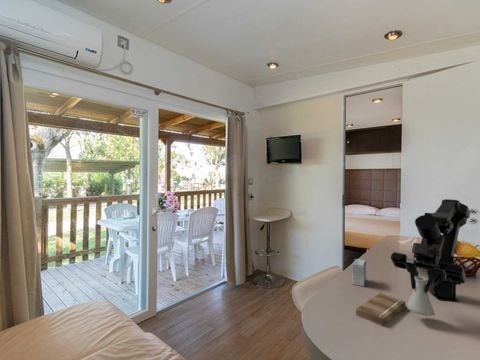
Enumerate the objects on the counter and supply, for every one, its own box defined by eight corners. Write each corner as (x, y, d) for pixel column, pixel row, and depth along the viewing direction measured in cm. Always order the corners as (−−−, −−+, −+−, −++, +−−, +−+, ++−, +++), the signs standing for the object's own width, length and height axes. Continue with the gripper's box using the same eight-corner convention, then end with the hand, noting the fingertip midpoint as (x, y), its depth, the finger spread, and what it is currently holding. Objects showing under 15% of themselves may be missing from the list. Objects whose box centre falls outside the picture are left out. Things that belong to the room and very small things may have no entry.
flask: (440, 318, 74) (440, 284, 74) (412, 315, 76) (412, 282, 76) (427, 305, 81) (428, 274, 81) (402, 303, 83) (402, 273, 83)
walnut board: (380, 298, 93) (380, 292, 93) (405, 306, 87) (405, 300, 87) (356, 314, 82) (356, 308, 82) (382, 326, 76) (382, 319, 76)
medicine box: (364, 287, 103) (364, 265, 103) (352, 284, 105) (352, 263, 105) (366, 280, 110) (366, 260, 109) (354, 278, 112) (355, 258, 112)
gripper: (392, 228, 88) (378, 267, 81) (463, 238, 73) (453, 287, 67) (401, 247, 93) (388, 285, 86) (469, 259, 79) (460, 307, 72)
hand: (419, 290), depth 78 cm, fingers closed on flask, 3 cm apart
